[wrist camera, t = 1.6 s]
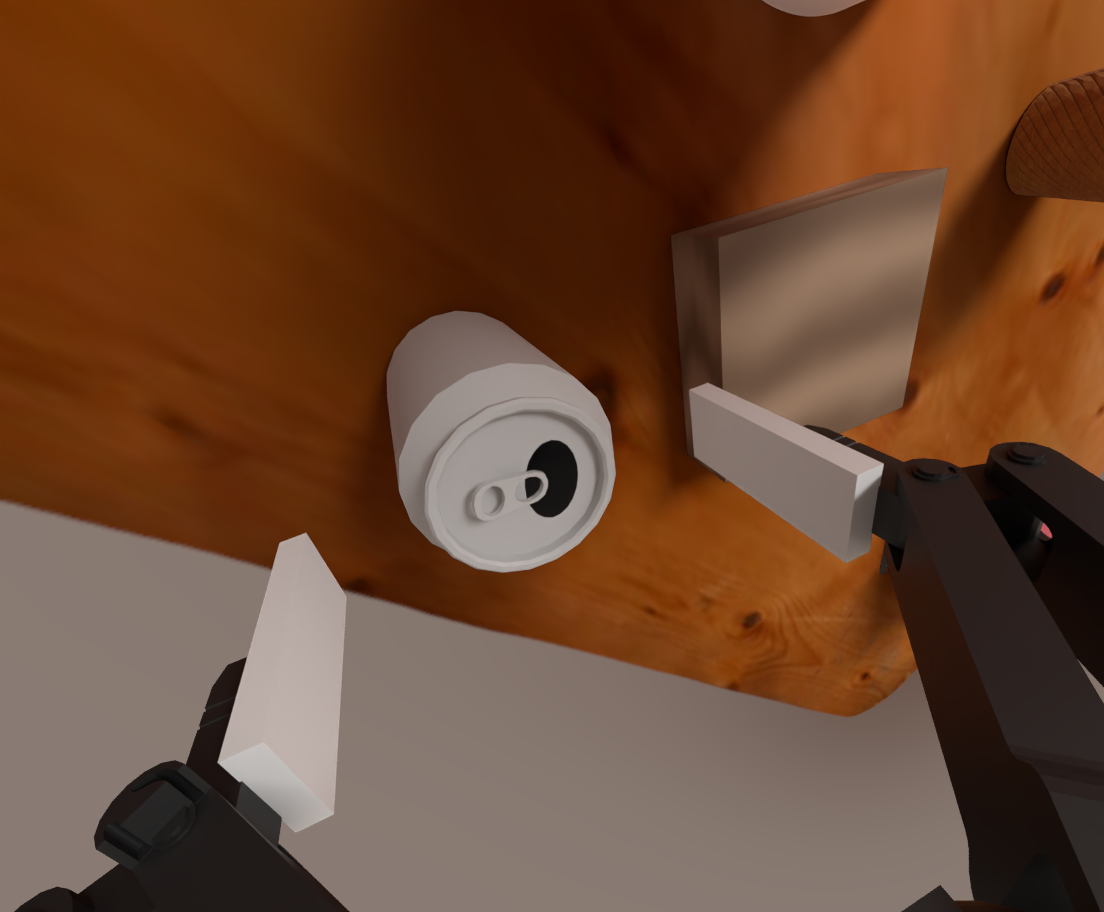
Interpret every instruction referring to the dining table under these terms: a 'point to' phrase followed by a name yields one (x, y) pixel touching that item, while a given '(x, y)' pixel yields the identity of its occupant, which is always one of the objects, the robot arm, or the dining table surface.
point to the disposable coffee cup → (1061, 142)
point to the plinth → (810, 300)
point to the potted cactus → (811, 6)
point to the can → (495, 444)
